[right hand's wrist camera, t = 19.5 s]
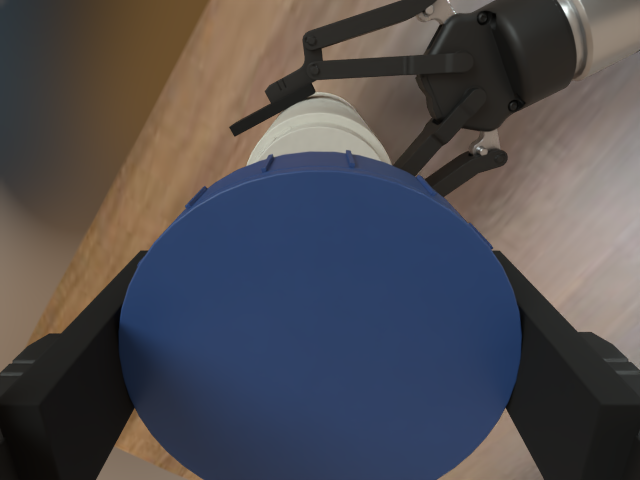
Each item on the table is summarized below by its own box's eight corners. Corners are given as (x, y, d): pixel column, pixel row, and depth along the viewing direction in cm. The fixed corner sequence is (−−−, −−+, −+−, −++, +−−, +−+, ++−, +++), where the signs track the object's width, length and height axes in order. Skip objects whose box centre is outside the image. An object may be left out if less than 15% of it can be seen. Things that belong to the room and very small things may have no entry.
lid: (304, 65, 10) (300, 64, 8) (560, 308, 12) (606, 354, 10) (84, 330, 12) (41, 380, 11) (330, 494, 15) (332, 560, 13)
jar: (288, 194, 42) (265, 289, 24) (261, 106, 39) (214, 142, 22) (374, 172, 41) (414, 254, 24) (353, 80, 38) (382, 96, 21)
